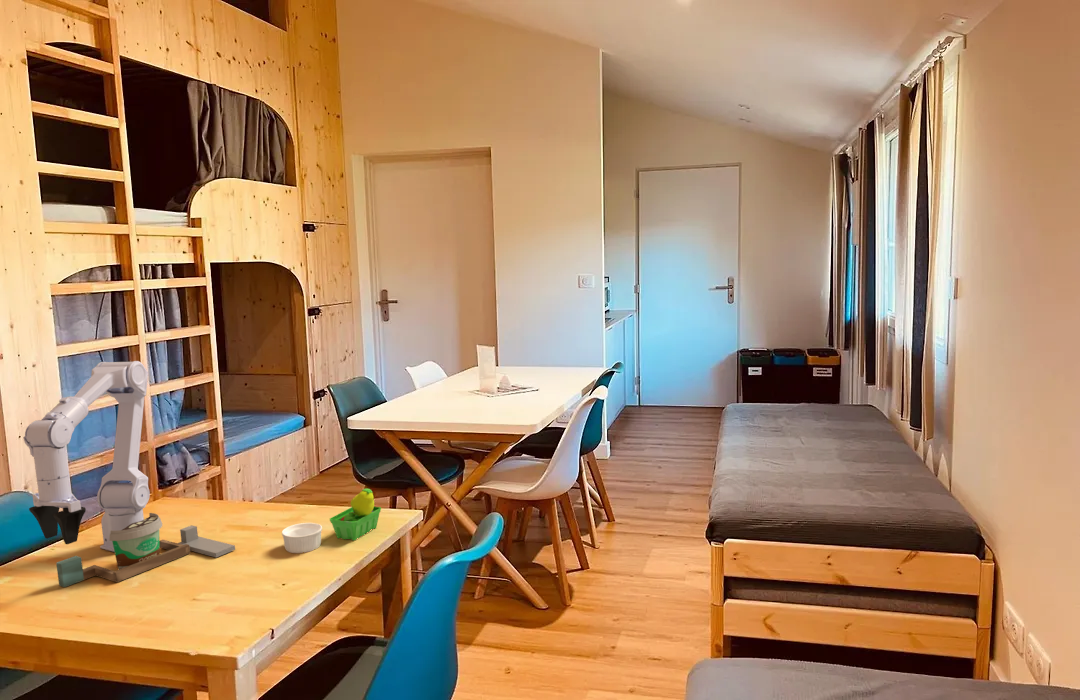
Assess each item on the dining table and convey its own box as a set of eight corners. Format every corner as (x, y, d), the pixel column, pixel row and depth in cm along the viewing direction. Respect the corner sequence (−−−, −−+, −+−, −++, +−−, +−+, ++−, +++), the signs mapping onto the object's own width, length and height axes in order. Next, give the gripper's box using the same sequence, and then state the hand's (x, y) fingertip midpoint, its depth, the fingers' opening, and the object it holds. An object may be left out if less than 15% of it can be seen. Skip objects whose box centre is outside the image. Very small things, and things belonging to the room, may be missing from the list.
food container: (137, 578, 160) (132, 533, 159) (113, 576, 162) (108, 531, 161) (178, 555, 172) (174, 513, 171) (155, 553, 174) (151, 511, 172)
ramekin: (329, 540, 178) (327, 522, 178) (314, 554, 170) (312, 536, 169) (293, 539, 179) (291, 522, 179) (276, 554, 170) (275, 536, 170)
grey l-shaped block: (177, 547, 176) (176, 530, 176) (197, 539, 181) (195, 523, 180) (216, 557, 169) (214, 540, 169) (235, 549, 174) (233, 532, 173)
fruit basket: (358, 523, 188) (355, 479, 187) (388, 527, 185) (385, 482, 184) (329, 540, 178) (325, 493, 177) (360, 544, 175) (357, 497, 173)
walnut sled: (59, 585, 158) (56, 562, 157) (163, 546, 178) (161, 525, 177) (85, 594, 152) (82, 571, 152) (190, 553, 173) (188, 532, 172)
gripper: (13, 478, 156) (22, 540, 158) (51, 486, 149) (60, 552, 150) (49, 469, 162) (57, 529, 164) (87, 476, 155) (95, 540, 156)
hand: (61, 539), depth 157 cm, fingers open, 7 cm apart
